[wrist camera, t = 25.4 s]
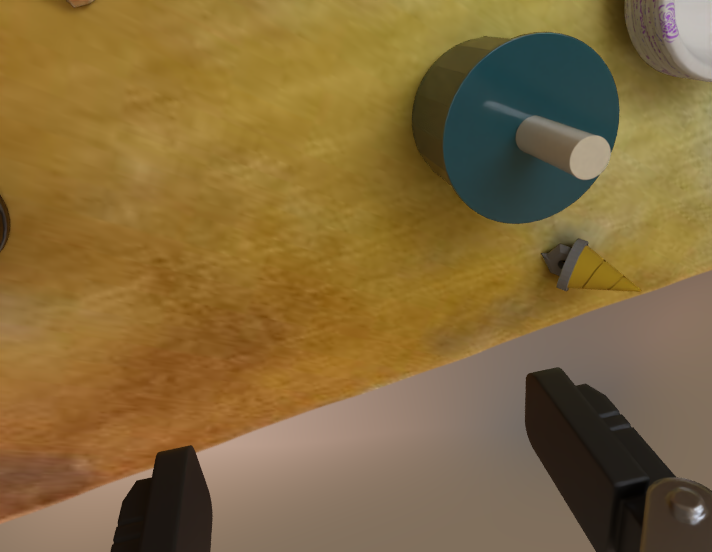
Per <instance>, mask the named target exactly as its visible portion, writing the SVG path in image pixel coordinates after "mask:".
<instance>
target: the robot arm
mask: <svg viewBox="0 0 712 552" xmlns="http://www.w3.org/2000/svg"><path fill="white" fill-rule="evenodd" d="M9 232H10V218H9V213H8V210H7V207H6V204H5V202H4V200H3V199H2V197H1V195H0V252H1V250H2V249H3V248H4V246H5V244H6V242H7V240H8V237H9ZM525 426H526V431H527V435H528V438H529V441H530V443H531V445H532V447H533V449H534V450H535V452H536V454H537V456H538V457H539V458H540V460H541V462H542V464H543V465H544V467H545V469H546V470H547V472H548V474H549V475H550V477H551V478H552V480H553V482H554V483H555V485H556V487H557V488H558V490H559V491H560V493H561V495H562V496H563V498H564V500H565V501H566V503H567V505H568V506H569V508H570V510H571V511H572V513H573V514H574V516H575V518H576V519H577V521H578V523H579V524H580V526H581V528H582V529H583V531H584V532H585V534H586V536H587V537H588V539H589V541H590V542H591V544H592V545H593V547H594V549H595V551H596V552H712V491H711V490H710V489H708V488H707V487H705V486H703V485H702V484H700V483H697V482H695V481H692V480H689V479H685V478H678V477H676V476H675V475H674V474H673V473H672V472H671V471H670V469H669V468H668V467H667V466H666V465H665V464H664V463H663V462H662V460H661V459H660V458H659V457H658V456H657V455H656V453H655V452H654V451H653V450H652V449H651V448H650V446H649V445H648V444H647V443H646V442H645V441H644V439H643V438H642V437H641V436H640V435H639V434H638V432H637V431H636V430H635V429H634V428H631V426H630V423H629V422H628V421H627V420H626V419H625V417H624V416H623V415H620V413H619V411H618V409H617V408H616V407H615V406H614V405H613V403H612V402H611V401H610V400H609V399H608V398H607V397H606V396H605V395H604V394H602V393H600V392H599V391H597V390H595V389H594V388H592V387H590V386H589V385H587V384H582V385H578V386H575V385H574V383H573V382H572V381H571V380H570V379H569V377H568V376H567V375H566V374H565V372H564V371H563V370H562V369H560V368H558V367H557V368H552V369H547V370H542V371H538V372H533V373H529V374H528V375H527V377H526V398H525ZM211 532H212V504H211V498H210V493H209V490H208V487H207V484H206V481H205V478H204V475H203V473H202V470H201V467H200V464H199V461H198V459H197V455H196V452H195V450H194V448H193V446H191V445H190V446H185V447H181V448H176V449H171V450H166V451H161V452H158V453H157V455H156V459H155V464H154V469H153V474H152V478H147V479H142V480H138V481H136V482H135V484H134V485H133V487H132V488H131V490H130V491H129V493H128V494H127V496H126V497H125V499H124V500H123V502H122V507H121V510H120V515H119V519H118V527H116V531H115V535H114V539H113V541H114V544H113V545H112V547H111V552H210V548H211Z"/></svg>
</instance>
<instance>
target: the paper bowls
mask: <svg viewBox="0 0 712 552" xmlns="http://www.w3.org/2000/svg"><path fill="white" fill-rule="evenodd" d="M625 22H626V26H627V30H628V33H629V35H630V39H631V41H632V44H633V46H634V47H635V49H636V50H637V52H638V54H639V55H640V57H641V58H642V59H643V60H644V61H645V62H646V63H647V64H648V65H650V66H651V67H653V68H654V69H656V70H658V71H659V72H661V73H664V74H667V75H671V76H675V77H680V78H688V79H693V80H700V81H706V82H712V0H625Z"/></svg>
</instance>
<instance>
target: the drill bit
mask: <svg viewBox="0 0 712 552" xmlns="http://www.w3.org/2000/svg"><path fill="white" fill-rule="evenodd" d="M541 254H542V256H543V258H544V260H545V262H546V264H547V266H548V268H549V270H550V272H551V273H554V274H556V275H559V279H558V283H557V288H559V289H562V290H564V291H568V289H569V288H577V289H580V288H581V287H582V289H597V290H606V289H607V290H617V291H637V292H641V289H640V288H638V287H637V286H636V285H635V284H633V283H632V282H631V281H630V280H629V279H627V278H626V277H625V276H624V275H622V274H621V273H620V272H619V271H618V270H616V269H615V268H614V267H613V266H611V265H610V264H609V263H608V262H606V261H605V260H604V259H603V258H602V257H600V256H599V255H598V254H597V253H596V252H594V251H593V250H592V249H591V248H589V247H588V242H587V241H585V240H582V239H579V238H578V239H577V240H576V242H575V243H574V245H573V247H572V248H570V247H568V246H565V245H562V244H559V245H557V246H556V247H555V248H554V249H553V250H552V251H550V252H549V253H541ZM562 260H566V261H565V263H563V262H562Z"/></svg>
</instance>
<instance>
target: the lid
mask: <svg viewBox="0 0 712 552" xmlns="http://www.w3.org/2000/svg"><path fill="white" fill-rule="evenodd" d="M618 124H619V98H618V93H617V88H616V85H615V82H614V79H613V76H612V74H611V72H610V70H609V69H608V67H607V65H606V64H605V62H604V61H603V60H602V58H601V57H600V56H599V55H598V54H597V53H596V52H595V51H594V50H593V49H592V48H591V47H589V46H588V45H587V44H585V43H584V42H582V41H580V40H578V39H576V38H574V37H571V36H568V35H564V34H560V33H551V32H534V33H529V34H523V35H520V36H517V37H514V38H511V39H508V40H506V41H504V42H502V43H500V44H498V45H497V46H495V47H494V48H492V49H491V50H489V51H488V52H486V53H485V54H484V55H483V56H482V57H481V58H479V59H478V60H477V61H476V62H475V63H474V64H473V65H472V66H471V67H470V69H469V70H468V71H467V72H466V73H465V75H464V76H463V78H462V79H461V80H460V82H459V83H458V85H457V87H456V89H455V90H454V92H453V94H452V96H451V98H450V101H449V103H448V106H447V108H446V112H445V115H444V119H443V124H442V130H441V156H442V162H443V166H444V170H445V173H446V175H447V178H448V181H449V182H450V184H451V186H452V188H453V190H454V191H455V192H456V194H457V195H458V196H459V198H460V199H461V200H462V201H463V202H464V203H465V204H466V205H467V206H468V207H470V208H471V209H472V210H474V211H475V212H477V213H478V214H480V215H482V216H484V217H486V218H488V219H491V220H494V221H497V222H503V223H511V224H521V223H530V222H534V221H539V220H542V219H545V218H547V217H550V216H552V215H554V214H556V213H558V212H560V211H562V210H564V209H565V208H567V207H568V206H570V205H571V204H572V203H574V202H575V201H576V200H577V199H579V198H580V197H581V196H582V195H583V194H584V193H585V192H586V191H587V190H588V189H589V188H590V186H591V185H592V184H593V183H594V182H595V180H596V179H597V178H598V176H599V175H600V174H601V173H602V172H603V171H604V169H605V168H606V167H607V165H608V163H609V160H610V155H611V152H612V149H613V146H614V143H615V139H616V136H617V130H618Z"/></svg>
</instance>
